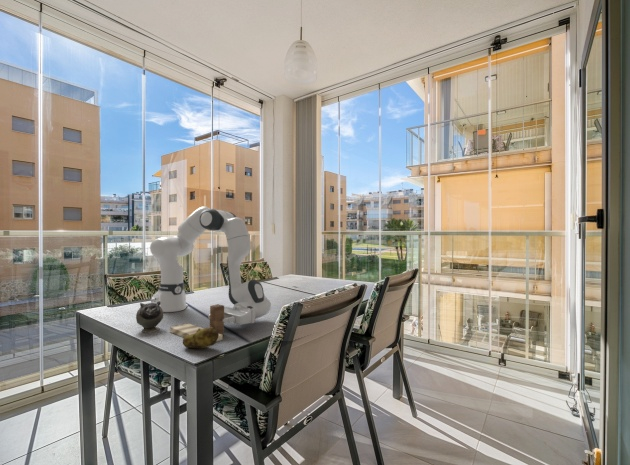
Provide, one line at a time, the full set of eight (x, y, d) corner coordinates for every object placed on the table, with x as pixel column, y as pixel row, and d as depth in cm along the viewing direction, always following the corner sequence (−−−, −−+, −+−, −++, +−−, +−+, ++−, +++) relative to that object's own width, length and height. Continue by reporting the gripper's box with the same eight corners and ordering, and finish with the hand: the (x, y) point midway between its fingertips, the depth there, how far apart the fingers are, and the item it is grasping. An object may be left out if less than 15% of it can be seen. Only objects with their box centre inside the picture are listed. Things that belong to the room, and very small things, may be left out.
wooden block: (194, 339, 127) (195, 308, 127) (217, 332, 136) (218, 304, 136) (200, 341, 125) (201, 310, 125) (223, 334, 134) (224, 305, 133)
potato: (198, 342, 124) (198, 321, 123) (222, 349, 117) (222, 327, 117) (179, 348, 116) (180, 326, 116) (203, 356, 110) (204, 333, 110)
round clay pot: (142, 336, 129) (167, 329, 137) (142, 306, 129) (167, 302, 137) (132, 330, 136) (157, 324, 144) (132, 302, 135) (157, 298, 143)
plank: (170, 332, 134) (170, 327, 134) (187, 327, 141) (187, 323, 141) (205, 345, 120) (205, 340, 120) (222, 339, 127) (222, 334, 127)
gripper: (226, 301, 150) (201, 307, 139) (257, 309, 138) (232, 315, 127) (226, 315, 150) (200, 321, 139) (257, 323, 138) (231, 331, 127)
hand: (216, 318), depth 133 cm, fingers open, 8 cm apart
